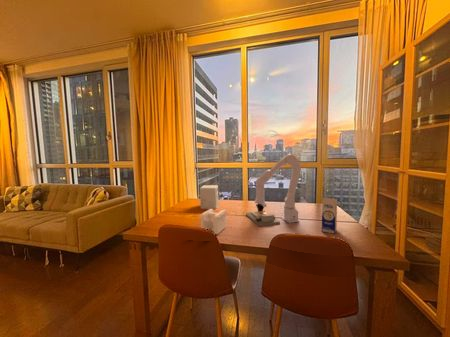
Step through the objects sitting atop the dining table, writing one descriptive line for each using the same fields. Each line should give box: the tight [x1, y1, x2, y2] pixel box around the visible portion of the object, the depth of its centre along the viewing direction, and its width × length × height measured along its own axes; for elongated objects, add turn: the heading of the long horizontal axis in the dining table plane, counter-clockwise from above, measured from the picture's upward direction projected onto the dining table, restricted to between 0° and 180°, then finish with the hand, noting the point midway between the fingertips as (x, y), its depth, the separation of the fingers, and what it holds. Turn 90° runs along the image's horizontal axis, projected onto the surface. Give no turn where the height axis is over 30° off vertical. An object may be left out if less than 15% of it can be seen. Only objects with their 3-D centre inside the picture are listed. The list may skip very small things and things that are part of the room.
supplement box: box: [199, 184, 220, 210], centre depth 179 cm, size 13×13×18 cm
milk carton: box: [321, 196, 338, 235], centre depth 121 cm, size 7×7×20 cm
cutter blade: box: [257, 210, 269, 218], centre depth 142 cm, size 9×5×4 cm, turn 15°
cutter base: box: [245, 211, 281, 227], centre depth 145 cm, size 24×14×6 cm, turn 15°
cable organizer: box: [200, 209, 228, 235], centre depth 127 cm, size 15×11×12 cm
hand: (260, 214), depth 147 cm, fingers closed
